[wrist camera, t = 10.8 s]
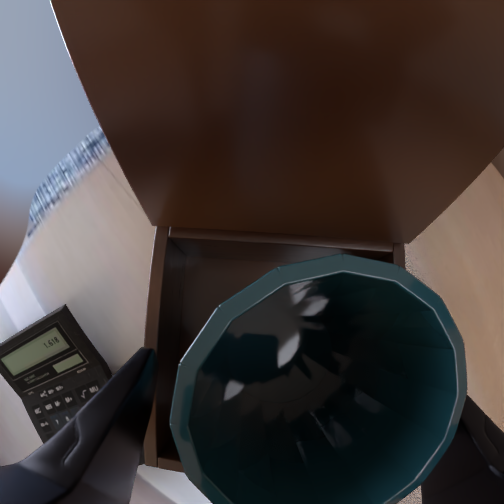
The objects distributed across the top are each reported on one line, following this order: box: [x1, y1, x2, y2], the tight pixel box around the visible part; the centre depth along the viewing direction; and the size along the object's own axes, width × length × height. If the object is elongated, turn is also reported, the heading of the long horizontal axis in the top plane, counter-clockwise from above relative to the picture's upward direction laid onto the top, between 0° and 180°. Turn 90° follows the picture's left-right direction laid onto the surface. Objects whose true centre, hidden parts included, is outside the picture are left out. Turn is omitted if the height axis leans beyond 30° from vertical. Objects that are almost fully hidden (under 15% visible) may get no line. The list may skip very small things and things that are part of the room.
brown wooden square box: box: [144, 226, 405, 473], centre depth 15 cm, size 12×12×5 cm
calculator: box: [0, 304, 145, 465], centre depth 15 cm, size 9×12×3 cm
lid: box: [50, 0, 504, 244], centre depth 8 cm, size 13×12×4 cm
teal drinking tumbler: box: [169, 253, 467, 504], centre depth 11 cm, size 7×7×12 cm
